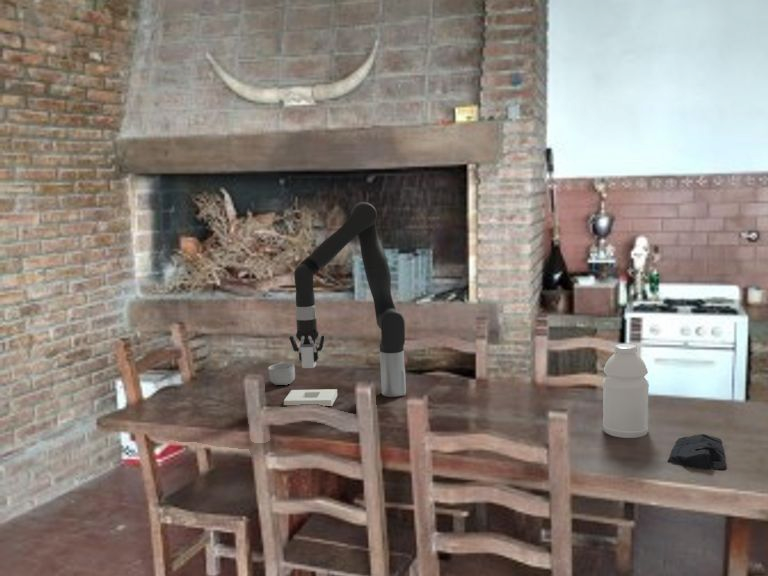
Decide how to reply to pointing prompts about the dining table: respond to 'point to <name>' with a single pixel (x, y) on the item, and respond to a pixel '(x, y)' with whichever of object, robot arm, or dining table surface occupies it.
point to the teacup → (282, 373)
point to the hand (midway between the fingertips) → (308, 361)
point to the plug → (307, 356)
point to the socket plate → (311, 397)
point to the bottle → (625, 394)
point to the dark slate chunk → (698, 452)
